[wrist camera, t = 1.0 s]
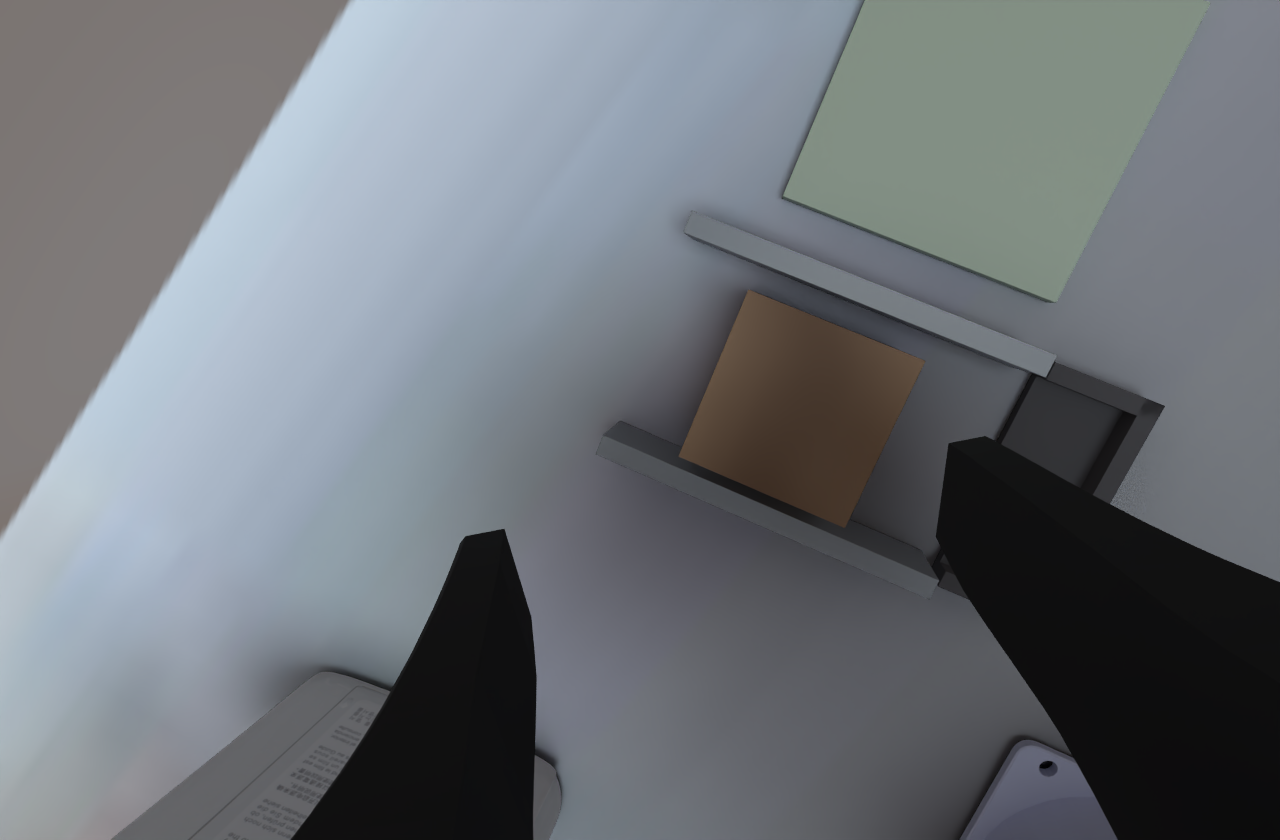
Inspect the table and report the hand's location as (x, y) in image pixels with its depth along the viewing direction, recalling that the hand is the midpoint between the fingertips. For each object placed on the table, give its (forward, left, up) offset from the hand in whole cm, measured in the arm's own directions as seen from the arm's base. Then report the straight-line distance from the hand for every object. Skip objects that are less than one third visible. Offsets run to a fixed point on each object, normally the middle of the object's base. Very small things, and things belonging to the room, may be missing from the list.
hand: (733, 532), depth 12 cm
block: (-1, -1, -11) cm, 12 cm away
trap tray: (-8, -1, -11) cm, 14 cm away
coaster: (-2, -10, -11) cm, 15 cm away
